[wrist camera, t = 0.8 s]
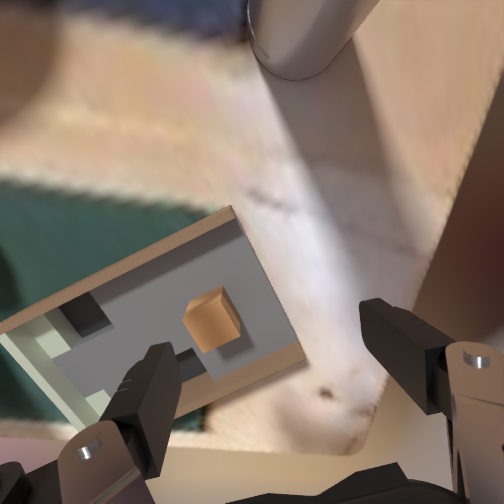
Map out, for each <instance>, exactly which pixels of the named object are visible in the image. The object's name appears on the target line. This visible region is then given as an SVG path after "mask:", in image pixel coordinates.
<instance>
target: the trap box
mask: <svg viewBox="0 0 504 504" xmlns="http://www.w3.org/2000/svg"><path fill="white" fill-rule="evenodd" d="M220 286H223V287H224V288H225V290H226V292H227V294H228V295H229V297H230V299H231V301H232V303H233V304H234V306H235V308H236V310H237V312H238V313H239V315H240V337H238V338H236V339H233V340H231V341H229V342H227V343H225V344H223V345H221V346H219V347H216V348H214V349H212V350H210V351H208V352H206V353H204V354H203V353H202V351H201V350H200V348H199V347H198V345H197V343H196V342H195V340H194V339H193V337H192V336H191V334H190V332H189V331H188V329H187V328H186V326H185V325H184V323H183V321H182V319H183V317H184V314H185V312H186V309H187V307H188V304H189V302H190V301H192V300H194V299H196V298H198V297H200V296H202V295H204V294H206V293H208V292H210V291H212V290H214V289H216V288H218V287H220ZM164 342H171V343H172V345H173V349H174V352H175V356H176V359H177V362H178V366H179V369H180V373H181V378H182V389H181V394H180V398H179V402H178V406H177V410H176V414H175V417H174V419H176V418H178V417H180V416H183V415H185V414H187V413H189V412H191V411H193V410H196V409H198V408H200V407H202V406H204V405H206V404H209V403H211V402H213V401H215V400H217V399H220V398H222V397H224V396H226V395H228V394H230V393H233V392H235V391H237V390H239V389H241V388H243V387H246V386H248V385H250V384H252V383H254V382H257V381H259V380H261V379H263V378H265V377H267V376H270V375H272V374H274V373H276V372H278V371H280V370H283V369H285V368H287V367H289V366H291V365H294V364H296V363H298V362H300V361H302V360H304V359H306V357H305V354H304V352H303V350H302V347H301V345H300V342H299V340H298V338H297V335H296V333H295V331H294V329H293V327H292V325H291V323H290V321H289V319H288V317H287V315H286V313H285V311H284V309H283V307H282V305H281V303H280V301H279V299H278V297H277V295H276V293H275V291H274V289H273V287H272V286H271V284H270V282H269V280H268V278H267V276H266V274H265V272H264V270H263V268H262V266H261V264H260V262H259V260H258V258H257V256H256V254H255V252H254V250H253V248H252V246H251V244H250V242H249V240H248V238H247V236H246V234H245V232H244V230H243V228H242V226H241V224H240V222H239V220H238V218H237V216H236V214H235V212H234V210H233V208H232V206H231V205H229V206H227V207H225V208H223V209H221V210H219V211H217V212H215V213H213V214H211V215H209V216H207V217H205V218H203V219H201V220H199V221H197V222H195V223H193V224H192V225H190V226H188V227H186V228H184V229H182V230H180V231H178V232H176V233H174V234H172V235H170V236H168V237H166V238H164V239H162V240H160V241H158V242H156V243H154V244H152V245H150V246H148V247H146V248H144V249H142V250H140V251H138V252H136V253H134V254H132V255H130V256H128V257H126V258H124V259H122V260H120V261H118V262H116V263H114V264H112V265H110V266H108V267H106V268H104V269H102V270H100V271H98V272H96V273H94V274H92V275H90V276H88V277H86V278H84V279H82V280H80V281H78V282H76V283H74V284H72V285H70V286H68V287H66V288H64V289H62V290H60V291H58V292H56V293H54V294H52V295H50V296H48V297H46V298H44V299H42V300H40V301H39V302H37V303H35V304H33V305H31V306H29V307H27V308H25V309H23V310H21V311H20V312H18V313H16V314H14V315H13V316H11V317H9V318H7V319H6V320H4V321H2V322H0V343H1V344H2V345H3V346H4V347H5V348H6V349H7V351H8V352H9V353H10V354H11V355H12V356H13V357H14V359H15V360H16V361H17V362H18V363H19V364H20V365H21V366H22V368H23V369H24V370H25V371H26V372H27V373H28V374H29V376H30V377H31V378H32V379H33V380H34V381H35V382H36V383H37V385H38V386H39V387H40V388H41V389H42V390H43V391H44V393H45V394H46V395H47V396H48V397H49V398H50V399H51V400H52V402H53V403H54V404H55V405H56V406H57V407H58V408H59V409H60V411H61V412H62V413H63V414H64V415H65V416H66V417H67V419H68V420H69V421H70V422H71V423H72V424H73V425H74V426H75V428H76V429H77V430H78V431H79V432H80V431H82V430H83V429H85V428H86V427H88V426H90V425H92V424H94V423H97V422H98V421H99V419H100V417H101V416H102V414H103V412H104V411H105V409H106V407H107V405H108V404H109V402H110V400H111V399H112V397H113V395H114V394H115V392H117V388H118V387H119V385H120V383H122V380H123V378H124V377H125V375H126V373H127V371H128V370H129V369H130V368H131V367H132V366H133V365H134V364H135V363H137V362H138V361H140V360H143V358H144V356H145V355H146V353H147V351H148V349H149V347H150V346H151V345H155V344H160V343H164Z"/></svg>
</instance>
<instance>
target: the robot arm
mask: <svg viewBox="0 0 504 504" xmlns="http://www.w3.org/2000/svg"><path fill="white" fill-rule="evenodd" d="M378 2H379V0H248V6H247V28H248V36H249V40H250V43H251V46H252V49H253V51H254V53H255V54H256V56H257V58H258V59H259V61H260V62H261V63H262V64H263V66H264V67H265V68H267V69H268V70H269V71H270V72H271V73H273V74H275V75H277V76H279V77H281V78H284V79H289V80H303V79H307V78H311V77H313V76H315V75H316V74H318V73H320V72H321V71H322V70H324V69H325V68H326V67H327V66H328V65H329V64H330V63H331V61H332V60H333V59H334V58H335V56H336V55H337V54H338V52H339V51H340V50H341V49H342V47H343V46H344V45H345V43H346V42H347V41H348V40H349V39H350V37H352V35H353V34H354V33H355V32H356V30H357V29H358V28H359V26H360V25H361V24H362V22H363V21H364V20H365V19H366V17H367V16H368V15H369V13H370V12H371V11H372V10H373V8H374V7H375V6H376V4H377V3H378ZM359 312H360V322H361V332H362V338H363V341H364V344H365V346H366V348H367V349H368V350H369V352H370V353H371V354H372V355H373V356H374V357H375V358H376V359H377V360H378V362H379V363H380V364H381V365H382V366H383V367H384V368H385V369H386V370H387V372H388V373H389V374H390V375H391V376H392V377H393V378H394V379H395V380H396V382H397V383H398V384H399V385H400V386H401V387H402V388H403V389H404V390H405V391H406V393H407V394H408V395H409V396H410V397H411V398H412V399H413V400H414V402H415V403H416V404H417V405H418V406H419V407H420V408H421V409H422V410H423V412H424V413H425V414H426V415H431V414H435V413H440V412H442V413H443V414H444V415H445V416H446V425H447V436H448V445H449V455H450V464H451V474H452V485H453V491H450V490H448V489H445V488H443V487H441V486H438V485H435V484H431V483H428V482H424V481H419V480H414V479H407V477H406V476H405V474H404V473H403V471H402V469H401V468H400V466H399V465H398V463H397V462H395V463H392V464H387V465H383V466H379V467H375V468H371V469H367V470H362V471H358V472H355V473H353V474H352V475H350V476H348V477H347V478H346V479H344V480H342V481H340V482H339V483H337V484H335V485H334V486H332V487H331V488H329V489H327V490H326V491H324V492H323V493H321V494H319V495H316V496H303V495H302V496H301V495H288V494H274V493H267V494H263V495H258V496H254V497H250V498H246V499H242V500H238V501H234V502H229V503H225V504H504V354H503V353H501V352H500V351H498V350H496V349H494V348H492V347H489V346H486V345H483V344H479V343H474V342H456V341H455V340H453V339H452V338H450V337H449V336H447V335H445V334H444V333H442V332H441V331H439V330H437V329H436V328H435V327H433V326H431V325H428V324H427V322H425V321H424V320H422V319H419V318H418V317H417V316H416V315H414V314H413V313H411V312H410V311H407V310H404V309H401V308H398V307H392V306H391V305H389V304H388V303H386V302H385V301H383V300H382V299H380V298H374V299H369V300H365V301H361V302H360V303H359ZM181 389H182V378H181V373H180V369H179V366H178V362H177V359H176V356H175V352H174V349H173V345H172V343H171V342H164V343H160V344H155V345H151V346H150V347H149V349H148V351H147V353H146V355H145V356H144V358H143V360H140V361H138V362H137V363H135V364H134V365H133V366H132V367H131V368H130V369H129V370H128V371H127V373H126V375H125V377H124V378H123V380H122V383H120V385H119V387H118V388H117V392H115V394H114V395H113V397H112V399H111V400H110V402H109V404H108V405H107V407H106V409H105V411H104V412H103V414H102V416H101V417H100V419H99V421H98V422H97V423H94V424H92V425H90V426H88V427H86V428H85V429H83V430H82V431H80V432H79V433H78V434H76V435H75V436H74V437H73V438H72V439H71V440H70V441H69V442H68V443H67V444H66V446H65V447H64V448H63V450H62V451H61V453H60V455H59V457H58V459H57V460H55V461H53V462H51V463H48V464H46V465H44V466H42V467H40V468H38V469H36V470H34V471H32V472H29V473H27V474H25V471H24V469H23V468H22V466H21V464H20V463H19V462H8V463H5V464H2V465H0V504H155V502H154V500H153V498H152V496H151V493H150V492H149V489H148V487H147V485H146V483H145V480H147V479H152V478H156V477H159V476H160V473H161V469H162V465H163V461H164V457H165V453H166V449H167V445H168V441H169V437H170V433H171V429H172V425H173V421H174V417H175V414H176V410H177V406H178V402H179V398H180V394H181Z"/></svg>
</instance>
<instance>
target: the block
mask: <svg viewBox="0 0 504 504" xmlns="http://www.w3.org/2000/svg"><path fill="white" fill-rule="evenodd" d="M182 321H183V323H184V325H185V326H186V328H187V329H188V331H189V332H190V334H191V336H192V337H193V339H194V340H195V342H196V343H197V345H198V347H199V348H200V350H201V351H202V353H203V354H204V353H206V352H208V351H210V350H212V349H214V348H216V347H219V346H221V345H223V344H225V343H227V342H229V341H231V340H233V339H236V338H238V337H240V315H239V313H238V312H237V310H236V308H235V306H234V304H233V303H232V301H231V299H230V297H229V295H228V294H227V292H226V290H225V288H224V287H223V286H220V287H218V288H216V289H214V290H212V291H210V292H208V293H206V294H204V295H202V296H200V297H198V298H196V299H194V300H192V301H190V302H189V304H188V307H187V309H186V312H185V314H184V317H183V319H182Z"/></svg>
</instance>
